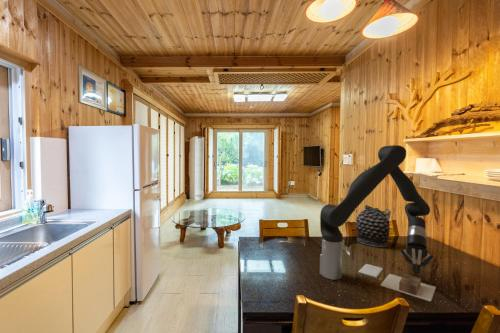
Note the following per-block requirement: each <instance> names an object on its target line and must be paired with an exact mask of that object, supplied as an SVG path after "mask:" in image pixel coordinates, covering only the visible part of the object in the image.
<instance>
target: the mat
mask: <svg viewBox="0 0 500 333" xmlns="http://www.w3.org/2000/svg"><path fill="white" fill-rule="evenodd" d="M402 277H403V276H399V275H396V274H392V273H389V274H388V275H387V276H386V277H385V279H384V280H383V282H381V283H380V285H379V286H381V287H384V288H387V289H390V290H394V291H397V292H400V293H403V294H406V295H409V296H412V297H415V298H418V299H422V300H424V301H428V302H432V300H433V296H434V294H435V291H436V287H437V286H434V285H430V284H427V283H424V282H421V286H420V288H419V290H418V292H417V295H413V294H410V293H407V292H404V291H401V290H399V282H400V280H401V279H402Z"/></svg>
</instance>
